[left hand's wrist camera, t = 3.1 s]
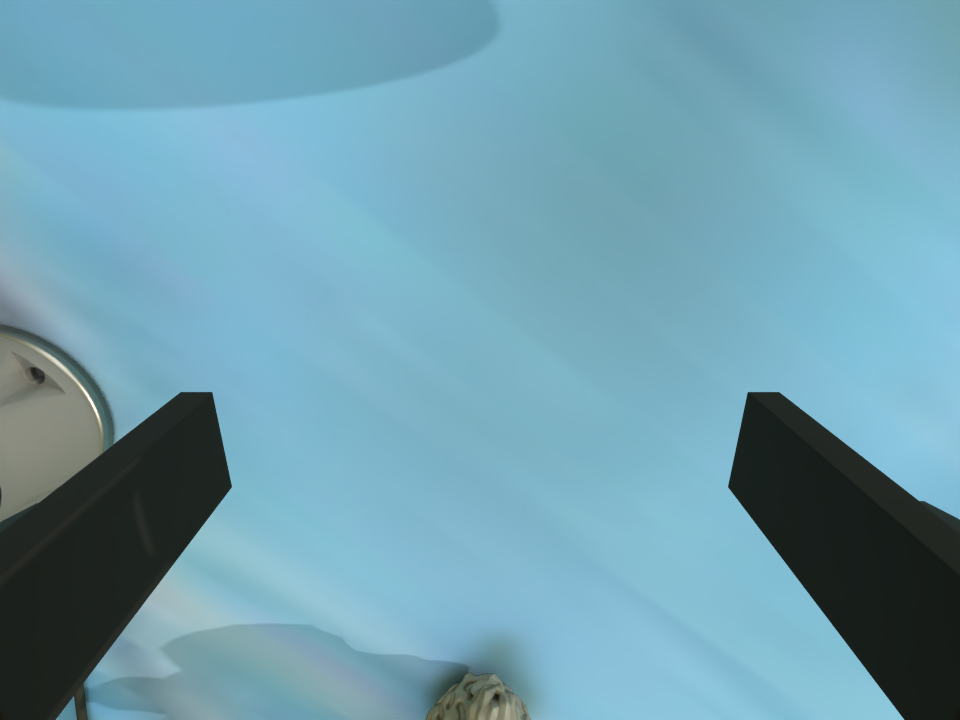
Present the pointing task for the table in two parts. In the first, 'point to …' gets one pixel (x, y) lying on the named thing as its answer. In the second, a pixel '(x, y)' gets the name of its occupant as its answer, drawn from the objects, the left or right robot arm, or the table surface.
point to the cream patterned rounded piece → (479, 701)
